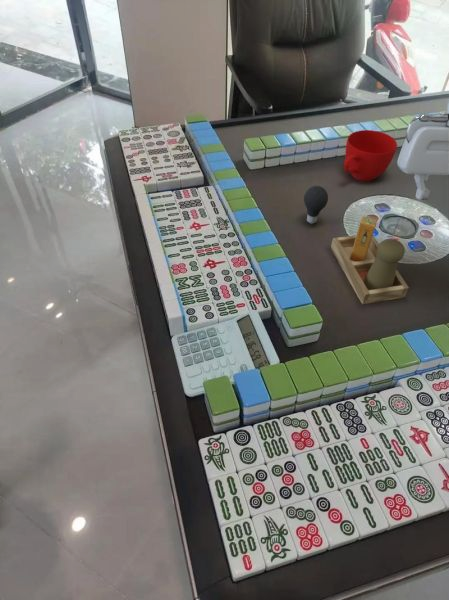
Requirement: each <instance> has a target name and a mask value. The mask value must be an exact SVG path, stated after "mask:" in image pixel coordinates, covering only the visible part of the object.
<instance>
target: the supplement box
mask: <svg viewBox="0 0 449 600" xmlns="http://www.w3.org/2000/svg"><path fill="white" fill-rule="evenodd" d="M377 222H378V219H377V218H373V217H369V216H364V215H363V216H362V218H361V219H360V222H359V224H358V228H357V232H356V234H355V235H356V239H355V242H354V246H353V249H352V253H351V256H350V259H351V260H356V261H365V258H366V255H367V252H368V248H369V245H370V242H371V239H372V236H374V232H375V229H376V228H377V227H376V226H377Z"/></svg>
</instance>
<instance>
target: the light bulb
mask: <svg viewBox="0 0 449 600" xmlns="http://www.w3.org/2000/svg"><path fill="white" fill-rule="evenodd" d="M328 201H329V195H328V191H327V190H326V189H325V188H324V187H322V186H320V185H313V186H311V187H309V188H308V189H307V190H306V191H305V193H304V195H303V202H304V203H303V204H304V205H305V208H306V213H307V215H306V216H307V217H306V221H307V222H308V223H309V224H311V225H313V224H314V223H317V221H318V217H319V215H320V213H321V211H322V210H323V209H324V208H325V207H326V206H327V204H328Z"/></svg>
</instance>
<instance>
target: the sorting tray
mask: <svg viewBox="0 0 449 600" xmlns="http://www.w3.org/2000/svg"><path fill="white" fill-rule="evenodd" d="M356 235H357V234H354V235H347V236H338V237H333V238H332V240H331V245H330V250H331V251H332V254H333V255H334V257H335V259H336V260H337V262H338V264H339V266H340V267H341V269H342V271H343V273H344V274H345V277H346V278H347V280H348V282H349V284H350V285H351V287H352V289H353V291H354V292H355V294H356V296H357V298H358V299H359V301H360V303H361V305H367V304H373V303H379V302H386V301H391V300H399V299H404V298H406V296H407V293H408V291H409V285H408V284H407V282H406V281H405V279H404V278H403V277H402V275H401V274H400V272H399V270H398V269H397V270H396V274H395V279H394V283H393V287H388V288H381V289H374V290H368V289H367V288H366V286H365V284H364V278H365V277H366V275H367V273H368V271H369V269H370V268H371V266H372V264H373V262H374V261H375V259H376V257H377V248H378V245H379V244H380V242H378V240H377V239H376V237H375V235H373V236H372V239H371V242H370V245H369V248H368V252H367V255H366V258H365V261H356V260H351V259H350V256H351V253H352V249H353V246H354V242H355V239H356Z"/></svg>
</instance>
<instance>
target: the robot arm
mask: <svg viewBox="0 0 449 600" xmlns="http://www.w3.org/2000/svg"><path fill="white" fill-rule="evenodd" d="M403 141H404V142H403V143H402V147H401V149H400V152H399V155H398V158H397V162H396V164H397V167H398V169H399V170H400V171H401V172H403V173H404V174H406V175H414V181H415V185H416V187H417V189H416V193H415V198H416V199H417V200H419V201H427V200H428V199H429V196H430V194H431V189H429V188H427V187H426V184H425V182H427V181H428V180H429V177H430V175H431V176H449V99H447V104H446V107H445V111H444V113H434V114H430V113H420V114H419V115H418V116H415V117H414V118H412V119H411V120H410V121H409V123H408V125H407V129H406V133H405V139H404V140H403Z"/></svg>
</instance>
